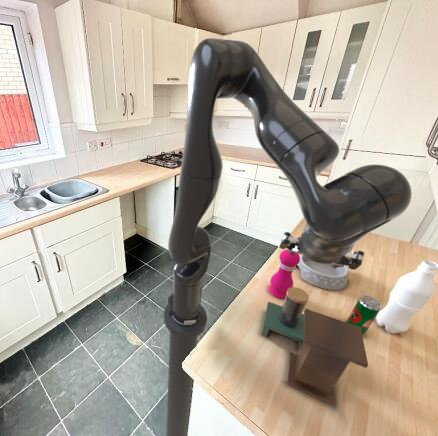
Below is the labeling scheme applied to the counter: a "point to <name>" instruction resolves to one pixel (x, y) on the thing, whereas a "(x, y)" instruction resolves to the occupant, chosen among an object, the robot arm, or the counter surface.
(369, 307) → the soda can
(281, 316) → the spice jar
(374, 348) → the counter surface
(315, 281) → the dog bowl
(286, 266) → the pepper mill
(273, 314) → the low shelf
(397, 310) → the water bottle
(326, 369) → the wooden pedestal table
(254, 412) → the counter surface
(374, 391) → the counter surface
